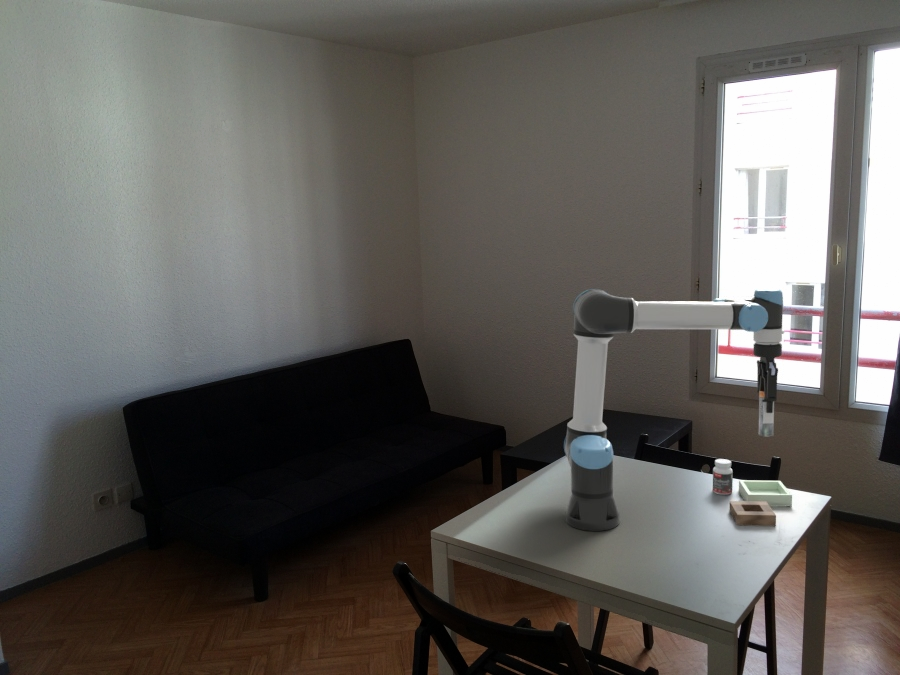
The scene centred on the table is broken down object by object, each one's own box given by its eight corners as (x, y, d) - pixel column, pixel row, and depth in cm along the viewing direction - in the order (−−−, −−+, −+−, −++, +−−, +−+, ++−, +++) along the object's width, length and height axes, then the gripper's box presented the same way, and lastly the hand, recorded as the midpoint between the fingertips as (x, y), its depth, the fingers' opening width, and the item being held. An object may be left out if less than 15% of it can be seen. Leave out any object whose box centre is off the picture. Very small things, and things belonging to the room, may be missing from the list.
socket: (737, 525, 200) (737, 514, 200) (729, 510, 210) (729, 500, 209) (775, 525, 198) (776, 515, 198) (766, 511, 208) (766, 501, 208)
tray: (748, 505, 213) (748, 494, 212) (738, 491, 224) (738, 480, 224) (791, 506, 211) (792, 495, 210) (780, 491, 222) (780, 480, 222)
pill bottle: (712, 494, 223) (712, 463, 221) (712, 488, 228) (713, 457, 226) (732, 496, 221) (732, 464, 219) (732, 489, 226) (733, 459, 224)
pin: (760, 436, 213) (761, 393, 211) (757, 432, 217) (757, 390, 215) (775, 436, 212) (775, 393, 210) (771, 432, 216) (772, 390, 214)
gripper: (790, 347, 201) (788, 428, 205) (773, 337, 218) (771, 413, 222) (761, 347, 203) (760, 428, 206) (747, 338, 219) (745, 413, 223)
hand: (766, 420), depth 214 cm, fingers closed on pin, 4 cm apart
